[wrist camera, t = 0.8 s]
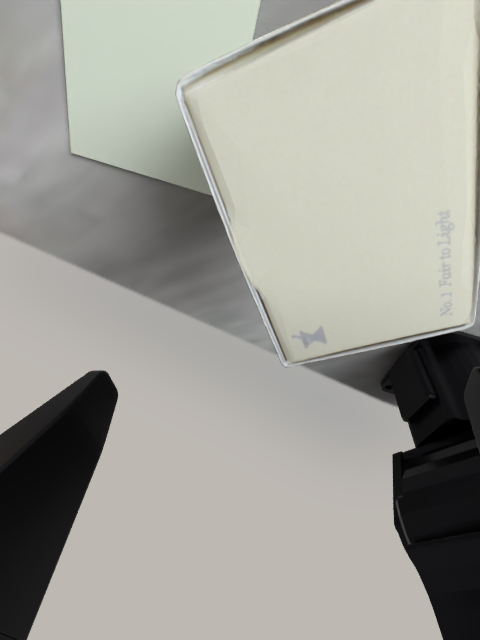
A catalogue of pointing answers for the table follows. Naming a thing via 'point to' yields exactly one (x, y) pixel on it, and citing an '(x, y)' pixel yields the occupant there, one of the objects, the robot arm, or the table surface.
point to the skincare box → (349, 172)
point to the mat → (143, 77)
